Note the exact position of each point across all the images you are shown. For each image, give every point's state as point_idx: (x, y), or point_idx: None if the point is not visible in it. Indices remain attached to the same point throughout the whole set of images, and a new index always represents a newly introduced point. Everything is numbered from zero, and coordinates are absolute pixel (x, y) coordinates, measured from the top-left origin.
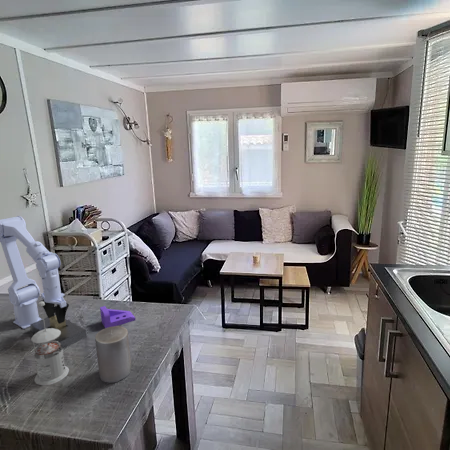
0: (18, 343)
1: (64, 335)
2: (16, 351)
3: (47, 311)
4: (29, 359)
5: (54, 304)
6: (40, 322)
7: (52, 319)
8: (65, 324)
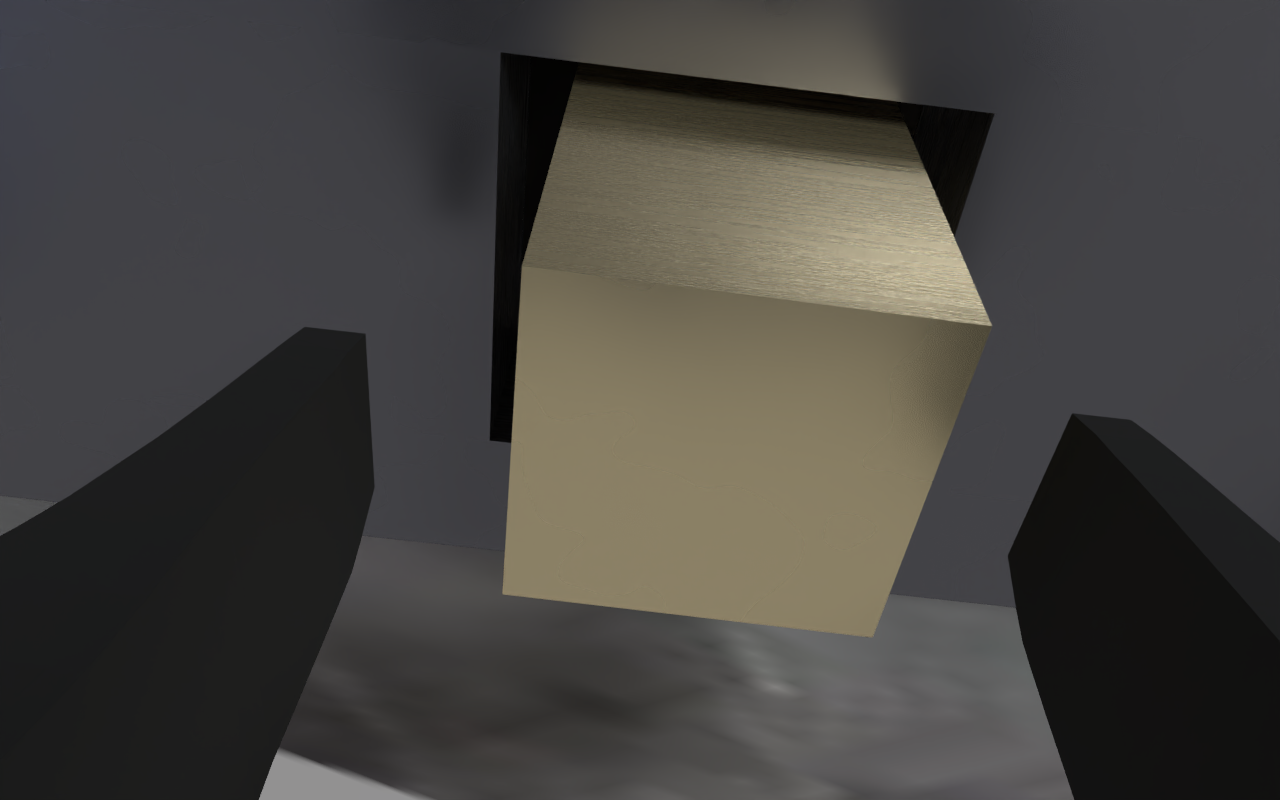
0: (349, 654)
1: (1271, 474)
2: (563, 752)
3: (283, 705)
4: (935, 782)
5: (132, 626)
6: (30, 338)
7: (725, 617)
8: (916, 176)
